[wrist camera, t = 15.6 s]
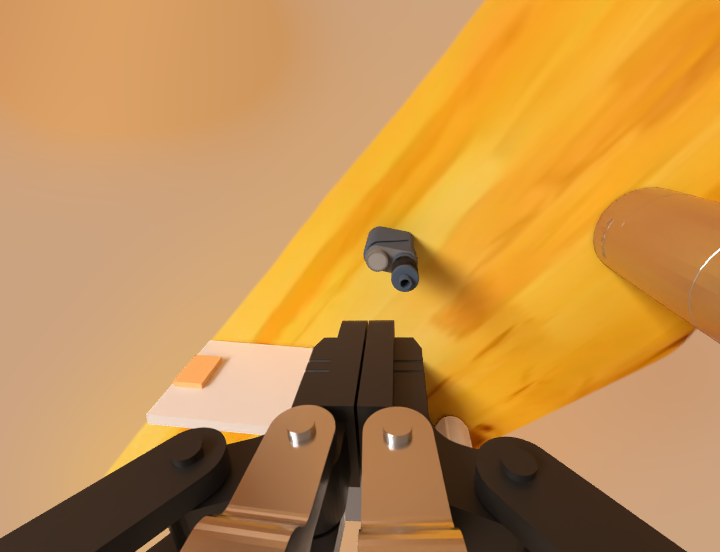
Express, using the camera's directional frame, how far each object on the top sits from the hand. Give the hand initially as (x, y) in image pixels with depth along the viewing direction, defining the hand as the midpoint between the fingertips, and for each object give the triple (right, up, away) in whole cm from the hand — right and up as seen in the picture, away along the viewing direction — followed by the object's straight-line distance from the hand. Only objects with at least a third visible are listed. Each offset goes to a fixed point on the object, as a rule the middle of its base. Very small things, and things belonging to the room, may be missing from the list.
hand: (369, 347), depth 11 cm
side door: (-12, -7, +37) cm, 40 cm away
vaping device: (+3, +6, +31) cm, 32 cm away
